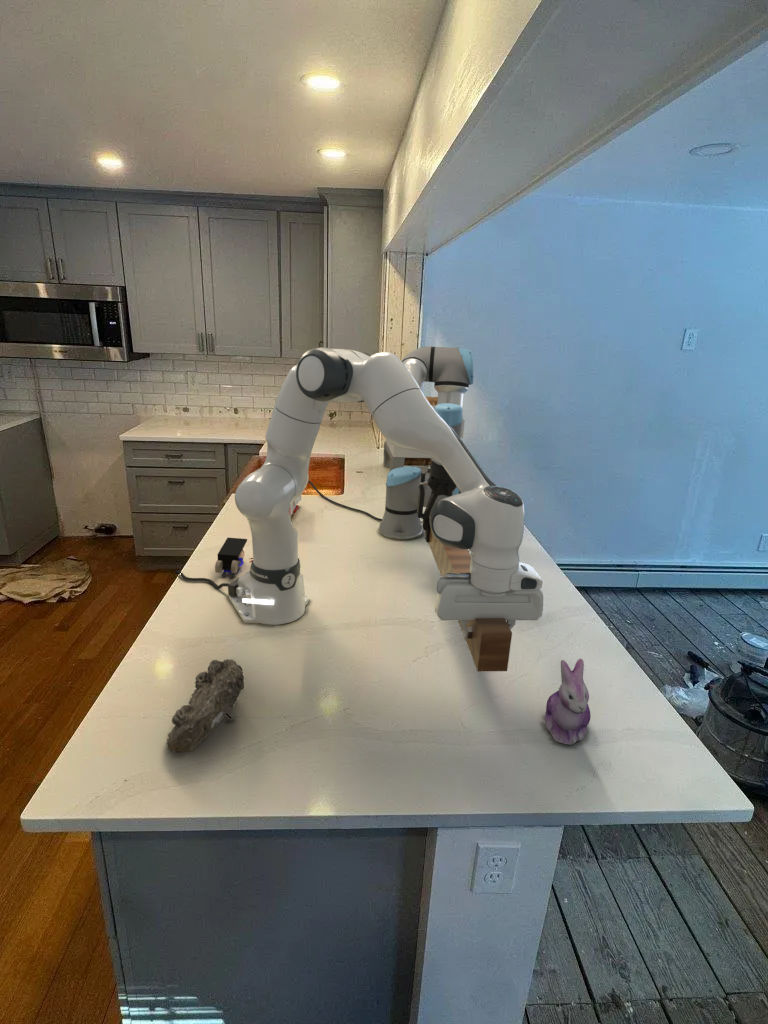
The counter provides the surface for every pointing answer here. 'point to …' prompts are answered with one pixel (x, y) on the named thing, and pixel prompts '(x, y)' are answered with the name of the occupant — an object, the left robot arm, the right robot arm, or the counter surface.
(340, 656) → the counter surface
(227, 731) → the counter surface
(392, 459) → the white boxy crate
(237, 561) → the figurine character
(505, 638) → the post
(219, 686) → the fossil
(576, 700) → the figurine
